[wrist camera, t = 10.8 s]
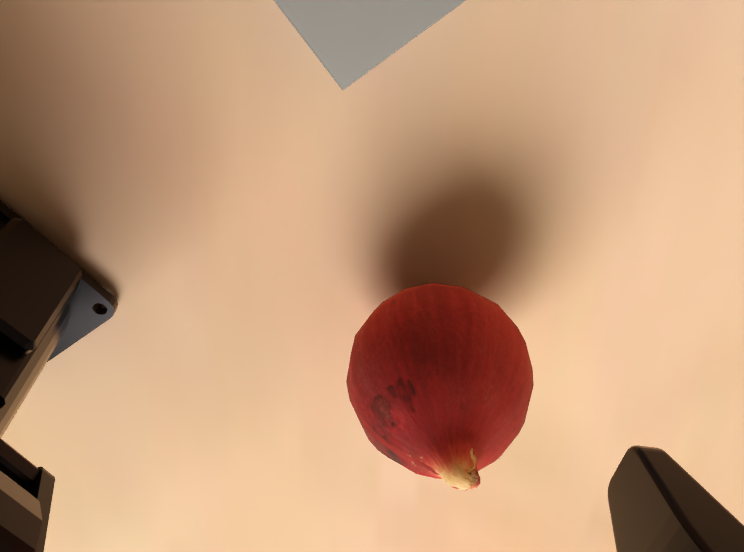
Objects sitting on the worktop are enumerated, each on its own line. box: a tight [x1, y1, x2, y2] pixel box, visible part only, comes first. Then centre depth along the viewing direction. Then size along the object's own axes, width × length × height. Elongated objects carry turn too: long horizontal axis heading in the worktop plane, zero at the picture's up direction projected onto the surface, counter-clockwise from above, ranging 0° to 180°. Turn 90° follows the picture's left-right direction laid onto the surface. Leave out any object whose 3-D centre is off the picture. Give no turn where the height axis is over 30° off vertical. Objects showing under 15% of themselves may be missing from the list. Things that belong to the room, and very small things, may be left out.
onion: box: [346, 283, 533, 490], centre depth 21 cm, size 6×6×8 cm
